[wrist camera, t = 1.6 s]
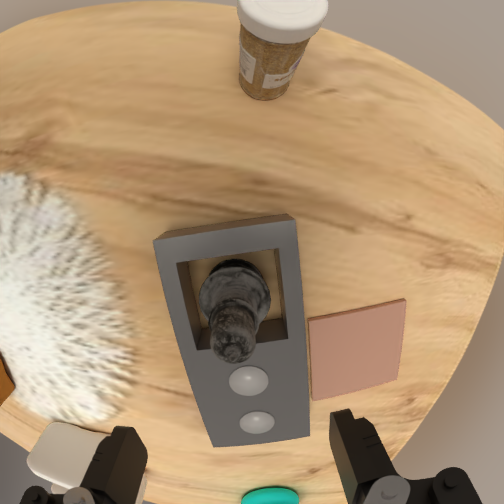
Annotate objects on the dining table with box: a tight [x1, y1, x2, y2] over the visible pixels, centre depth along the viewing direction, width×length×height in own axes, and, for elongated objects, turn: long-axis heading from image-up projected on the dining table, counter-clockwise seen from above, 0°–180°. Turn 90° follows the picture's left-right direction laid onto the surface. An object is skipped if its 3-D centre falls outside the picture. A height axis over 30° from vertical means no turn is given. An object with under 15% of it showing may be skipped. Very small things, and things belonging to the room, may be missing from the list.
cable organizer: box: [27, 422, 147, 504], centre depth 27 cm, size 15×11×12 cm
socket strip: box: [153, 214, 310, 447], centre depth 26 cm, size 24×11×4 cm, turn 8°
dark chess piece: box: [199, 259, 271, 364], centre depth 21 cm, size 6×6×12 cm
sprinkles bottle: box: [237, 0, 328, 100], centre depth 16 cm, size 5×5×14 cm
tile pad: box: [308, 299, 406, 401], centre depth 29 cm, size 11×11×1 cm
